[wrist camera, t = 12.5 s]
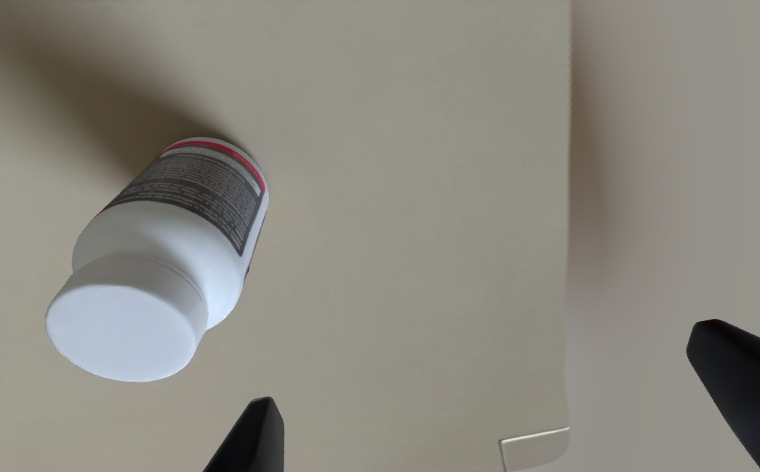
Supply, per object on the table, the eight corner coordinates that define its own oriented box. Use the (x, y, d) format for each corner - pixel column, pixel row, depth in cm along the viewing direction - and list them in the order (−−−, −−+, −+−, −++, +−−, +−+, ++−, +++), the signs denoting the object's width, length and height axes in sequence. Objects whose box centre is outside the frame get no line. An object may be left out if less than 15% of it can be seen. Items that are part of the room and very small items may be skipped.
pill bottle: (136, 137, 19) (-29, 268, 10) (259, 130, 19) (194, 253, 11) (173, 239, 21) (65, 406, 13) (278, 232, 22) (238, 392, 13)
